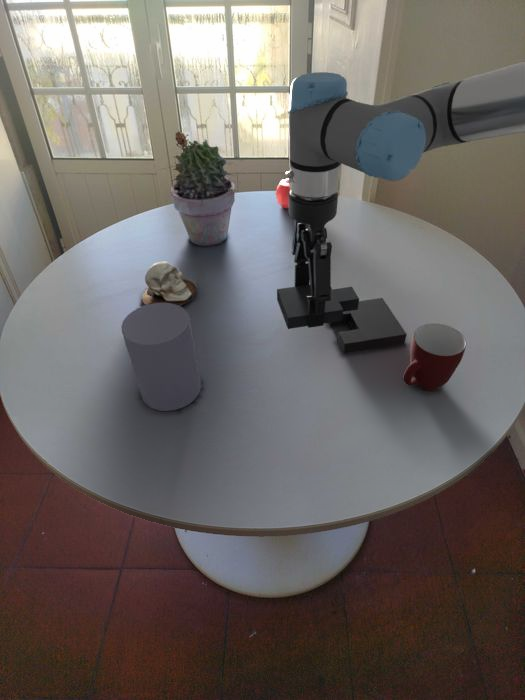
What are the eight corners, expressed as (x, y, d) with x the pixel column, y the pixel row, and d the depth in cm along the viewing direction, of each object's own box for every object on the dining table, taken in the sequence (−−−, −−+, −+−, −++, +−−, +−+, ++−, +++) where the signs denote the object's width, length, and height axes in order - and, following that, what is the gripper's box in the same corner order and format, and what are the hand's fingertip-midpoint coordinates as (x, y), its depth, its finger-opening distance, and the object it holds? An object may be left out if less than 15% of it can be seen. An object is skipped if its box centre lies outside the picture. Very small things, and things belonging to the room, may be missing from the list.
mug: (425, 416, 76) (439, 372, 69) (384, 389, 80) (393, 346, 73) (460, 383, 81) (476, 339, 74) (420, 360, 85) (431, 316, 78)
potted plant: (234, 259, 114) (226, 154, 97) (162, 249, 118) (142, 147, 102) (258, 225, 126) (253, 127, 110) (191, 217, 131) (178, 122, 114)
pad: (362, 317, 84) (364, 306, 83) (287, 329, 83) (287, 318, 81) (346, 289, 91) (347, 279, 89) (277, 299, 89) (276, 289, 88)
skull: (211, 284, 104) (185, 269, 95) (190, 326, 104) (162, 315, 95) (172, 266, 109) (144, 250, 100) (153, 306, 109) (123, 294, 100)
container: (213, 389, 82) (202, 322, 71) (163, 422, 76) (145, 354, 66) (178, 361, 87) (164, 294, 77) (130, 389, 82) (108, 323, 72)
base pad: (404, 344, 89) (406, 334, 87) (343, 354, 87) (344, 344, 85) (380, 307, 97) (382, 297, 96) (325, 315, 96) (325, 305, 94)
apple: (306, 209, 132) (306, 182, 127) (278, 212, 131) (277, 184, 126) (300, 198, 138) (301, 171, 133) (273, 200, 137) (273, 173, 132)
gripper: (274, 167, 79) (275, 279, 94) (308, 226, 63) (303, 350, 78) (317, 162, 80) (312, 274, 95) (361, 220, 64) (346, 344, 79)
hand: (308, 309), depth 86 cm, fingers closed on pad, 9 cm apart
